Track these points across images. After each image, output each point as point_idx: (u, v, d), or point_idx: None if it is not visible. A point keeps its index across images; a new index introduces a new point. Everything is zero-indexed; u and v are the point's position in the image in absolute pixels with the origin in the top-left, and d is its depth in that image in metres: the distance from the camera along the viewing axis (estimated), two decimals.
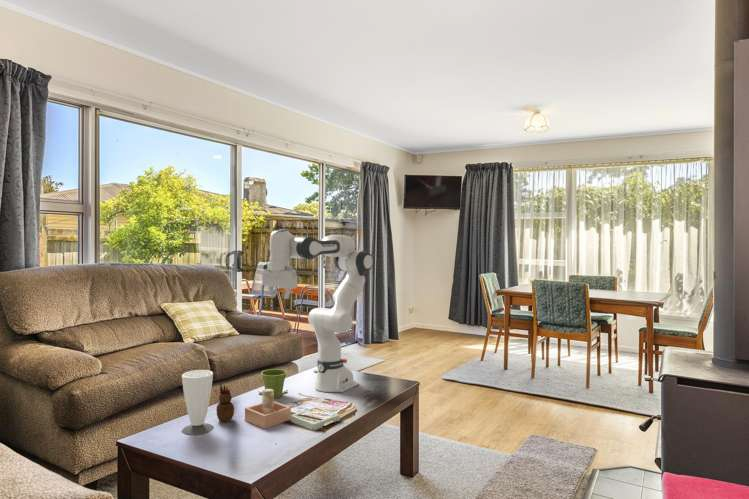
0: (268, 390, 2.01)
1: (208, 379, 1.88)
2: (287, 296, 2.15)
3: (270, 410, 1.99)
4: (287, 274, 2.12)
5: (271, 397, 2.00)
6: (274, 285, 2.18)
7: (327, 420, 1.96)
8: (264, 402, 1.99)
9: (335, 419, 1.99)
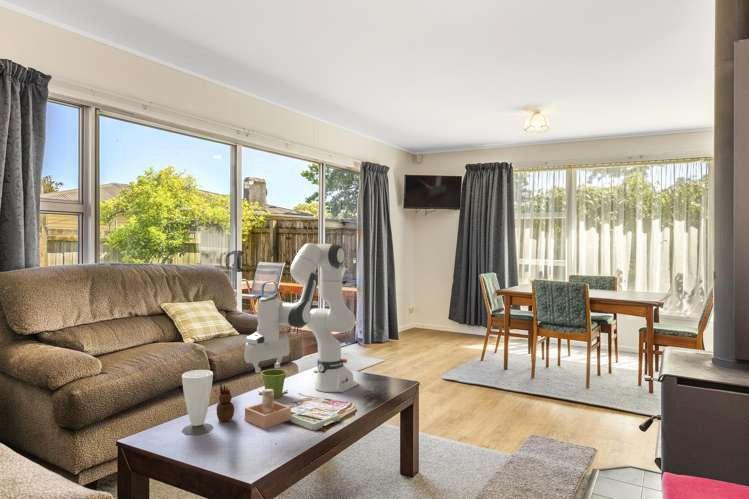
0: (268, 390, 2.01)
1: (208, 379, 1.88)
2: None
3: (270, 410, 1.99)
4: (285, 341, 2.05)
5: (271, 397, 2.00)
6: (268, 358, 1.98)
7: (327, 420, 1.96)
8: (264, 402, 1.99)
9: (335, 419, 1.99)
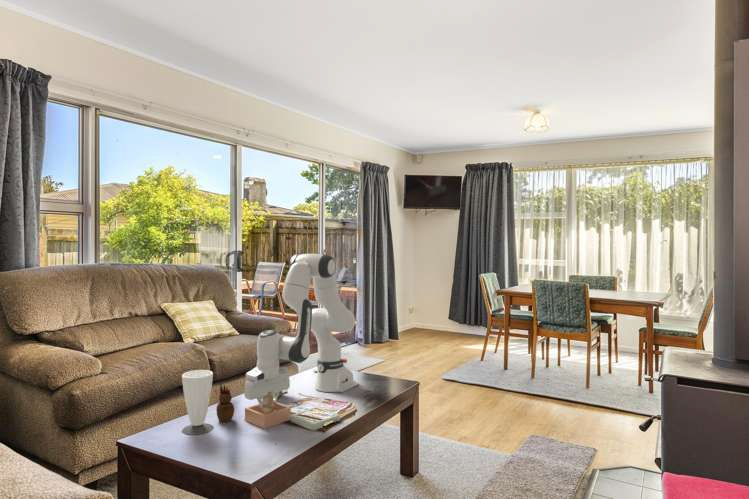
0: None
1: (208, 379, 1.88)
2: None
3: (270, 410, 1.99)
4: (285, 375, 2.05)
5: (271, 397, 2.00)
6: None
7: (327, 420, 1.96)
8: None
9: (335, 419, 1.99)
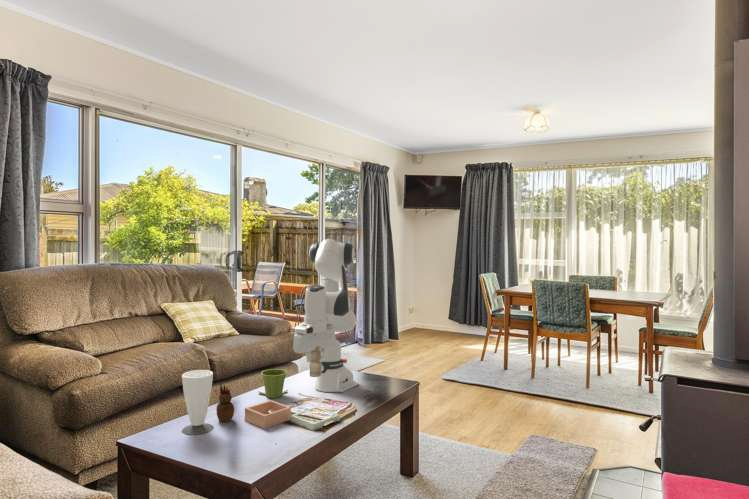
0: None
1: (208, 379, 1.88)
2: None
3: (317, 366, 1.98)
4: (332, 331, 2.04)
5: (319, 352, 1.98)
6: None
7: (327, 420, 1.96)
8: None
9: (335, 419, 1.99)
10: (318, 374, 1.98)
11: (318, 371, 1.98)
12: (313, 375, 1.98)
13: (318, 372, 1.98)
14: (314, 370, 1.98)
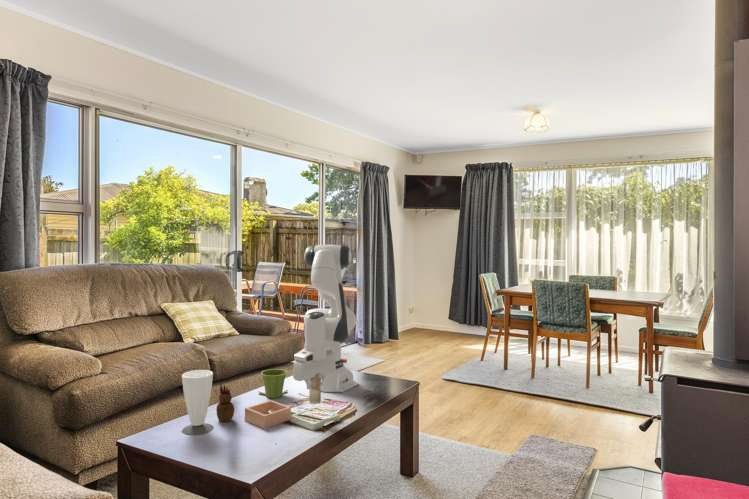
0: None
1: (208, 379, 1.88)
2: None
3: (317, 392, 1.98)
4: (332, 358, 2.04)
5: (319, 379, 1.98)
6: None
7: (327, 420, 1.96)
8: (312, 384, 1.98)
9: (335, 419, 1.99)
10: (318, 401, 1.98)
11: (318, 398, 1.98)
12: (313, 402, 1.98)
13: (318, 399, 1.98)
14: (314, 397, 1.98)
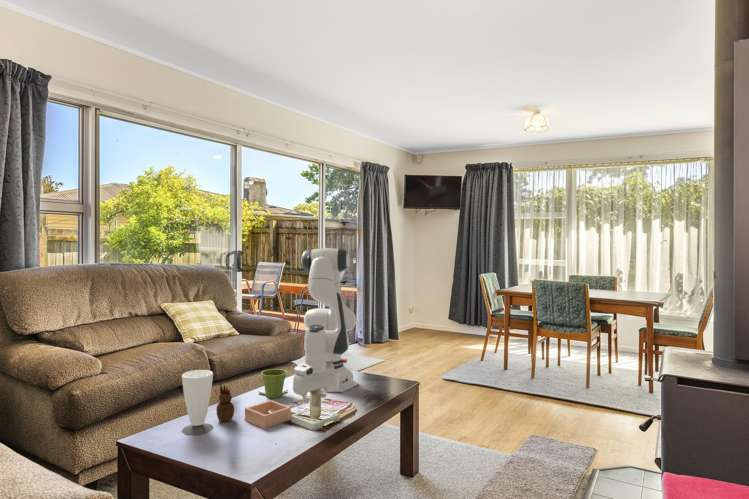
0: None
1: (208, 379, 1.88)
2: None
3: (317, 409, 1.99)
4: (332, 370, 2.05)
5: (319, 395, 1.99)
6: (316, 388, 1.98)
7: (327, 420, 1.96)
8: (312, 400, 1.98)
9: (335, 419, 1.99)
10: (318, 417, 1.99)
11: (318, 414, 1.99)
12: (313, 418, 1.98)
13: (318, 416, 1.99)
14: (314, 414, 1.98)
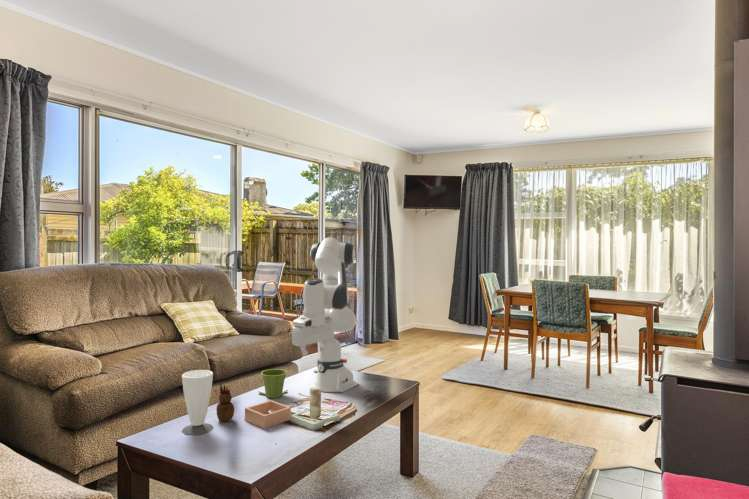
0: (315, 388, 2.01)
1: (208, 379, 1.88)
2: None
3: (317, 409, 1.99)
4: (330, 324, 2.05)
5: (319, 395, 1.99)
6: (315, 341, 1.99)
7: (327, 420, 1.96)
8: (312, 400, 1.98)
9: (335, 419, 1.99)
10: (318, 417, 1.99)
11: (318, 414, 1.99)
12: None
13: (318, 416, 1.99)
14: (314, 414, 1.98)
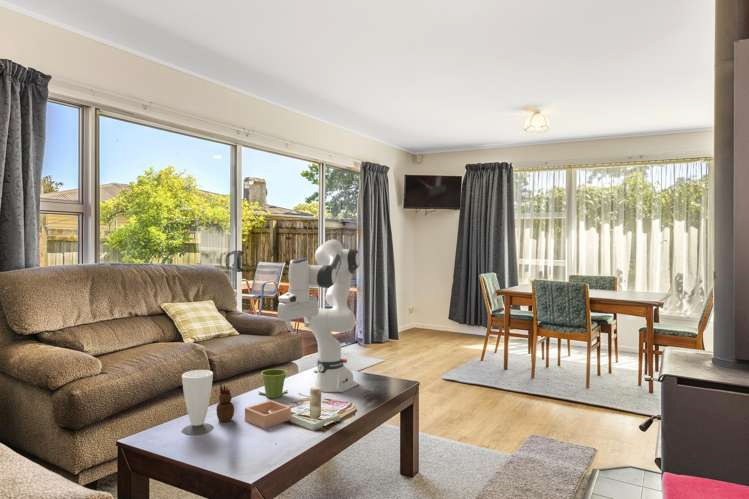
0: (316, 388, 2.00)
1: (208, 379, 1.88)
2: None
3: (318, 409, 1.99)
4: (315, 302, 2.16)
5: (319, 395, 1.99)
6: (299, 316, 2.10)
7: (327, 420, 1.96)
8: (312, 400, 1.98)
9: (335, 419, 1.99)
10: (318, 417, 1.99)
11: (318, 414, 1.99)
12: (313, 418, 1.98)
13: (318, 416, 1.99)
14: (314, 414, 1.98)
